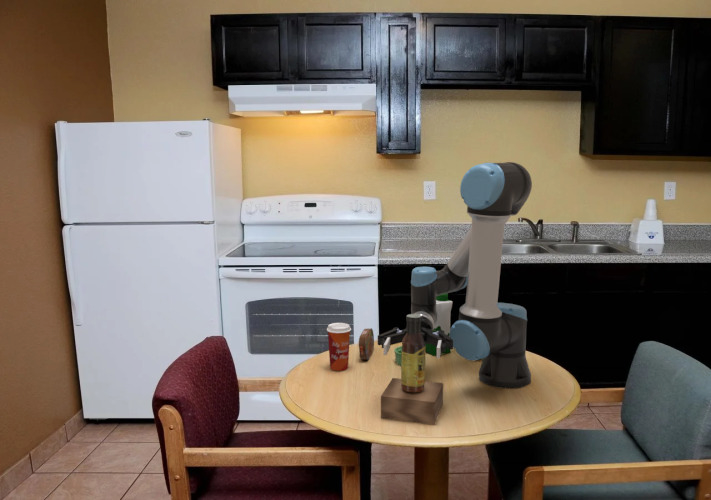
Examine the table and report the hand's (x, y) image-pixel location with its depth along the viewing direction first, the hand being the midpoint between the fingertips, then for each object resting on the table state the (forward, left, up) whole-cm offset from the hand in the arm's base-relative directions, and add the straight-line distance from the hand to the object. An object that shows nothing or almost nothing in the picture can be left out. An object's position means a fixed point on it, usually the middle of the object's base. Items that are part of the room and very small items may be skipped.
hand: (411, 351), depth 153 cm
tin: (+24, -42, -18) cm, 52 cm away
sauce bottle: (0, -3, -12) cm, 12 cm away
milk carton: (+2, -52, -18) cm, 55 cm away
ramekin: (+9, -39, -18) cm, 44 cm away
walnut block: (0, -3, -18) cm, 18 cm away
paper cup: (+29, -28, -18) cm, 44 cm away
